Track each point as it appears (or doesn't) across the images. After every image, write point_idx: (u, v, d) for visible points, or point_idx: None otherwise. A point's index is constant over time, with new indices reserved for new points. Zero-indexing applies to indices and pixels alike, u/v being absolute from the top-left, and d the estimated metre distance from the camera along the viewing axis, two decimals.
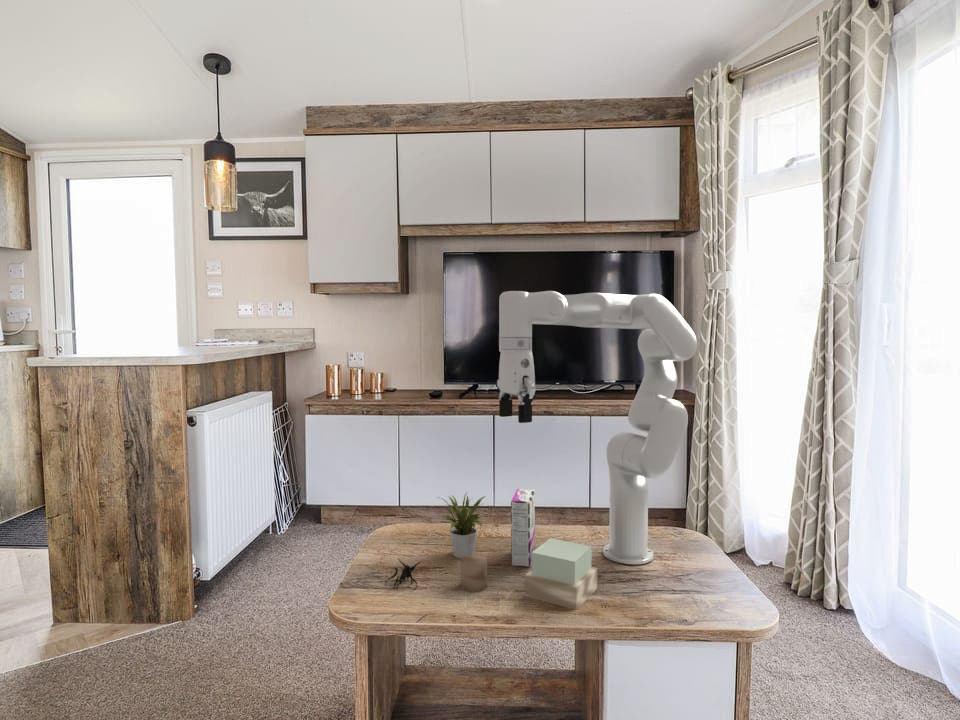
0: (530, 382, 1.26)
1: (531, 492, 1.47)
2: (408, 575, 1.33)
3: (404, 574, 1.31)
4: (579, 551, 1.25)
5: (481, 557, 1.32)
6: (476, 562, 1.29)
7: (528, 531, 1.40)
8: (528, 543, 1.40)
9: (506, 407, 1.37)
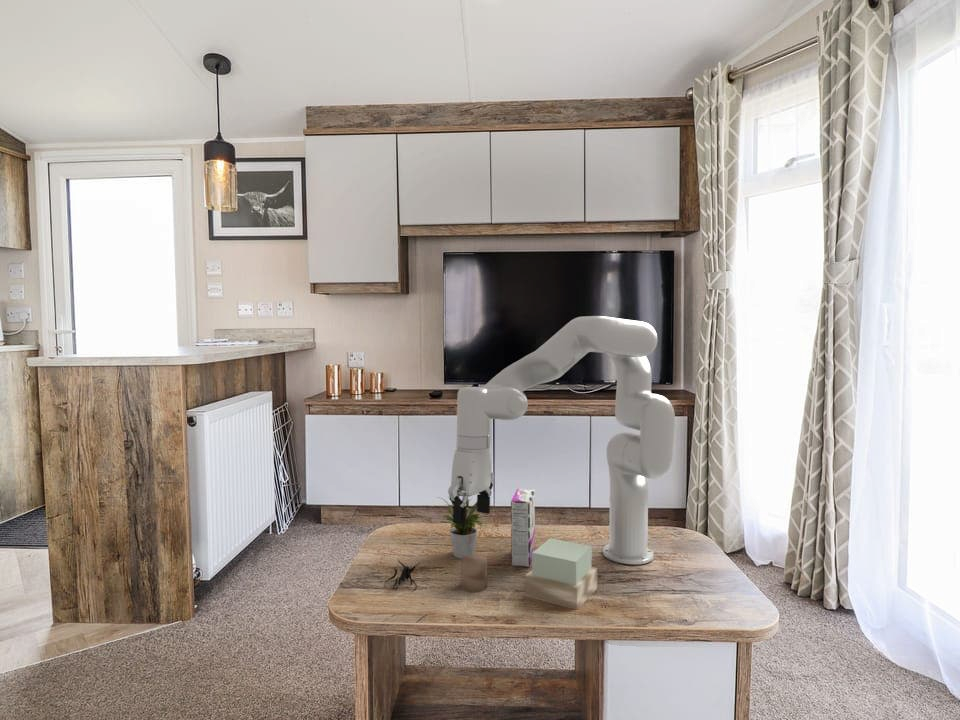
0: None
1: (531, 492, 1.47)
2: (407, 576, 1.32)
3: (403, 575, 1.30)
4: (580, 551, 1.25)
5: (481, 557, 1.32)
6: (476, 562, 1.29)
7: (528, 531, 1.40)
8: (528, 543, 1.40)
9: None
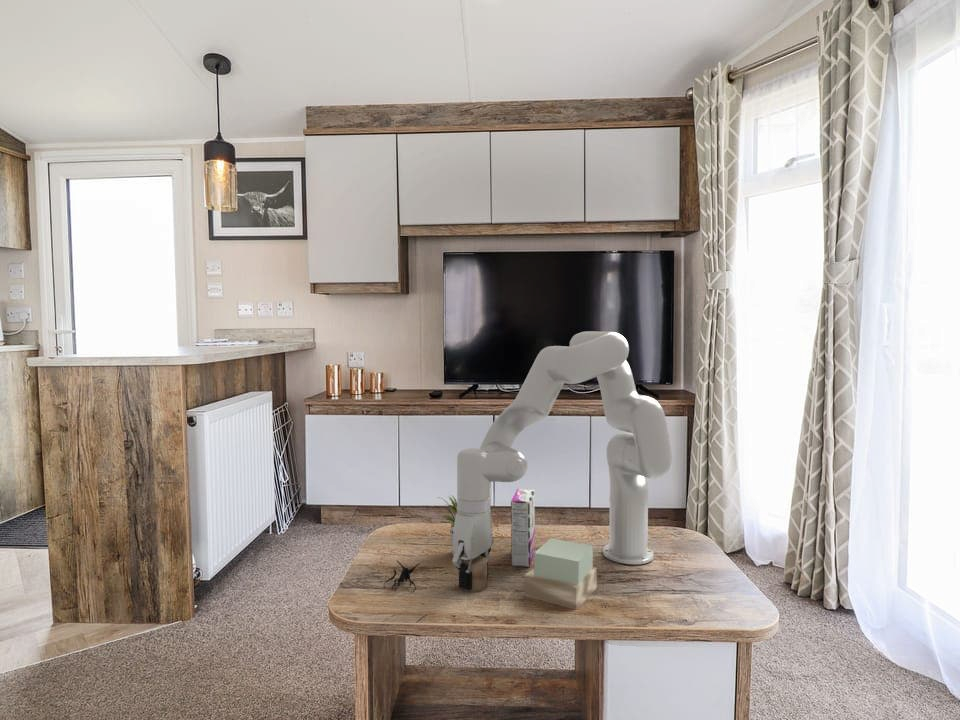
0: None
1: (531, 492, 1.47)
2: (407, 577, 1.32)
3: (402, 576, 1.30)
4: (581, 551, 1.26)
5: (481, 556, 1.32)
6: (476, 562, 1.29)
7: (528, 531, 1.40)
8: (528, 543, 1.40)
9: None
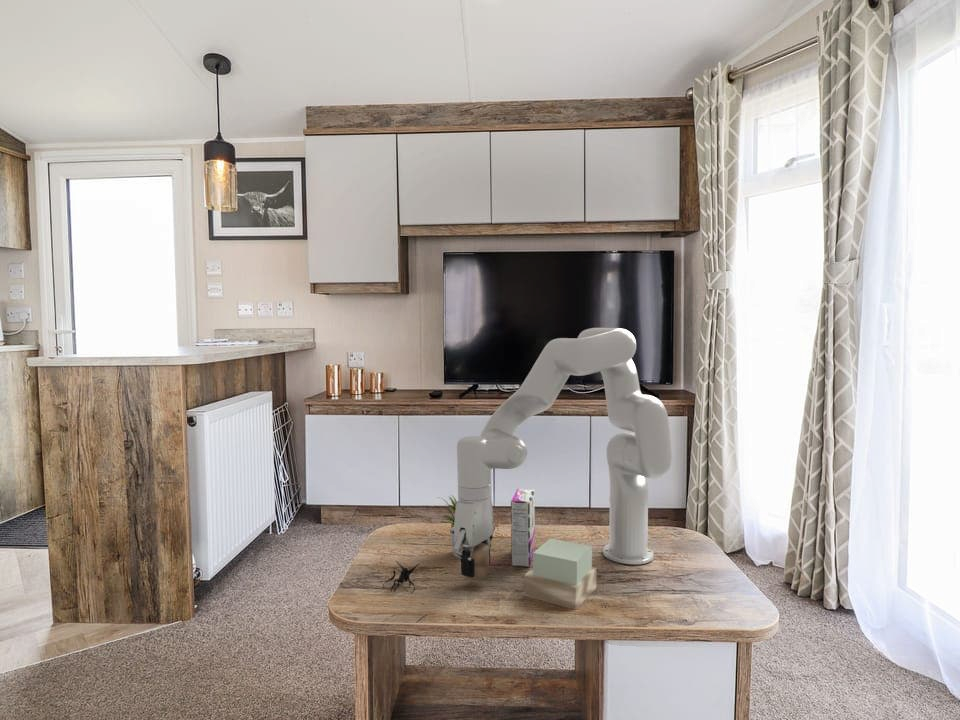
0: None
1: (531, 492, 1.47)
2: (406, 578, 1.31)
3: (402, 577, 1.29)
4: (580, 551, 1.26)
5: (483, 544, 1.32)
6: (478, 549, 1.29)
7: (528, 531, 1.40)
8: (528, 543, 1.40)
9: None
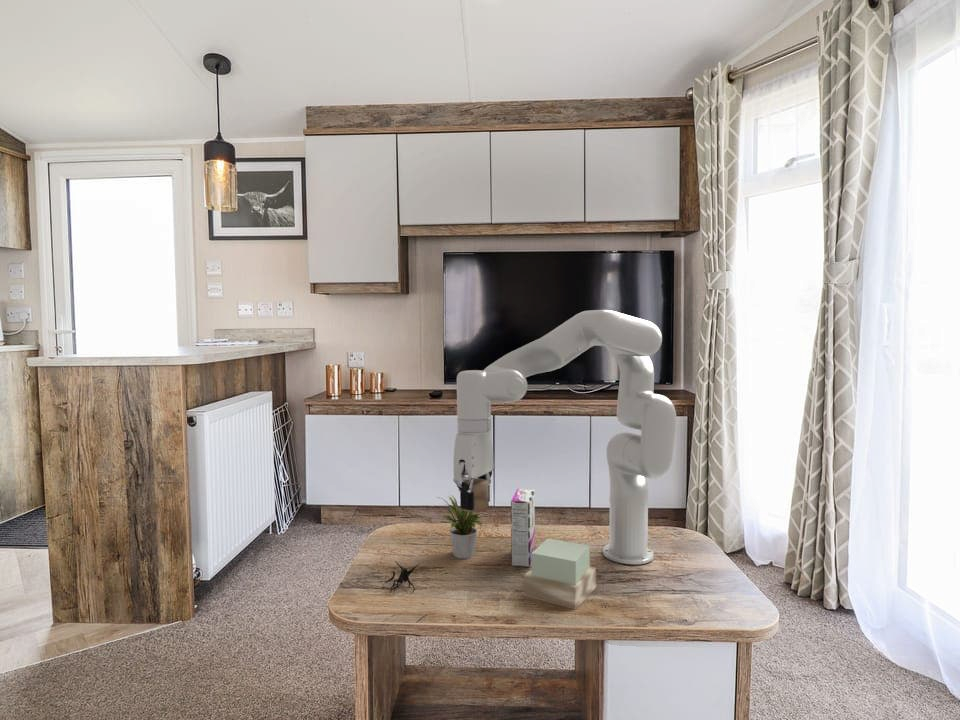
0: None
1: (531, 492, 1.47)
2: (406, 578, 1.31)
3: (401, 577, 1.29)
4: (578, 551, 1.26)
5: (483, 479, 1.31)
6: (477, 483, 1.28)
7: (528, 531, 1.40)
8: (528, 543, 1.40)
9: None
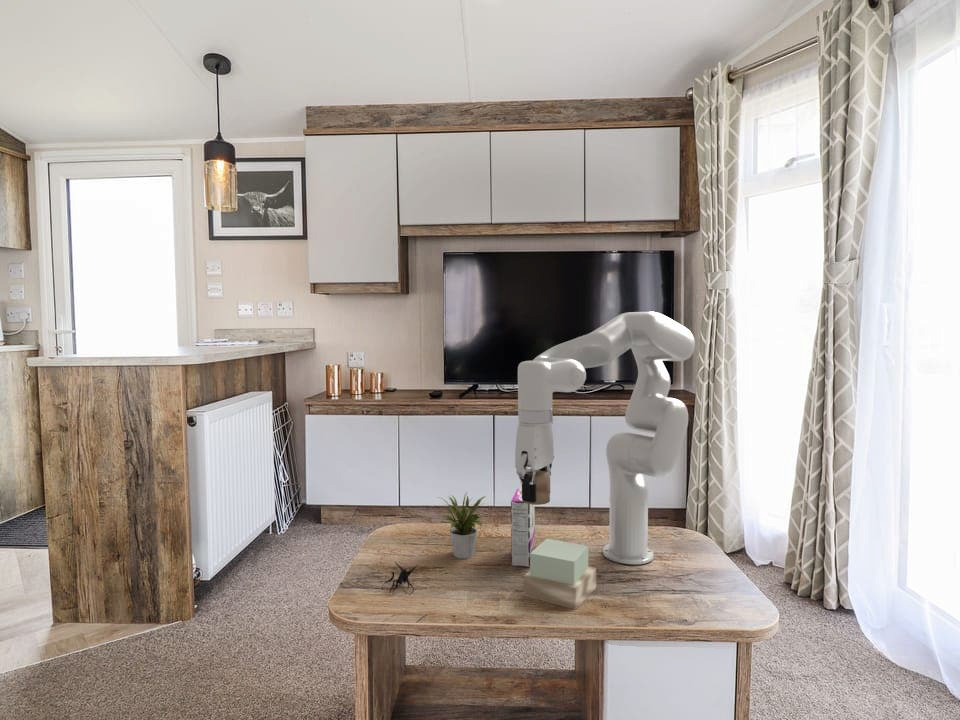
0: None
1: None
2: (405, 579, 1.31)
3: (401, 578, 1.29)
4: (577, 551, 1.26)
5: (543, 471, 1.29)
6: (539, 475, 1.26)
7: (528, 531, 1.40)
8: (528, 543, 1.40)
9: None
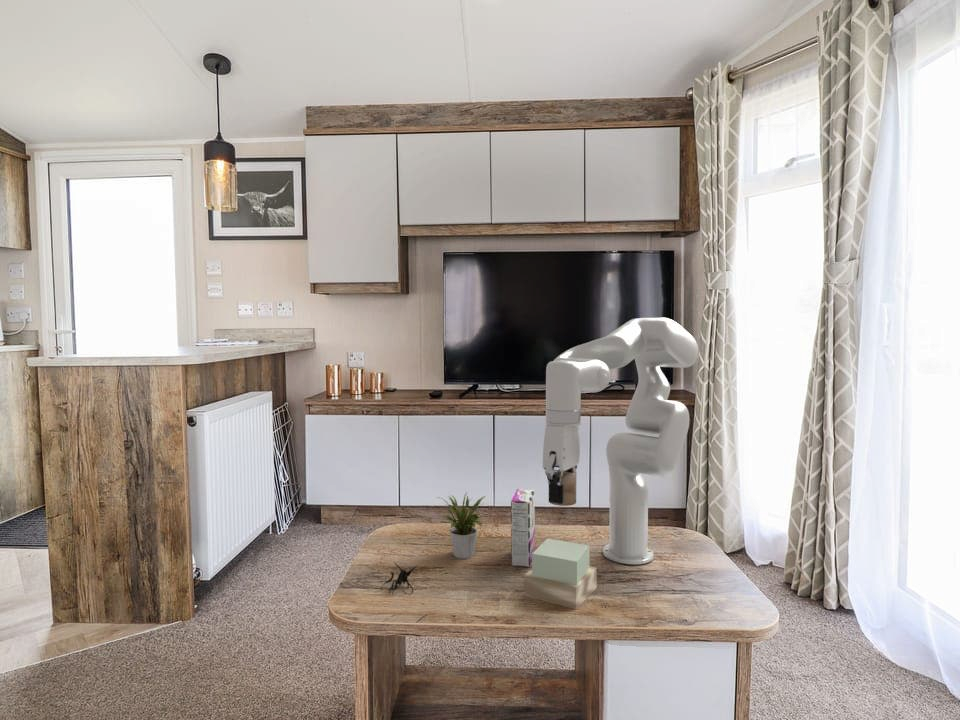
0: None
1: (531, 492, 1.47)
2: (404, 580, 1.30)
3: (400, 579, 1.28)
4: (579, 551, 1.26)
5: (569, 472, 1.28)
6: (566, 476, 1.25)
7: (528, 531, 1.40)
8: (528, 543, 1.40)
9: None
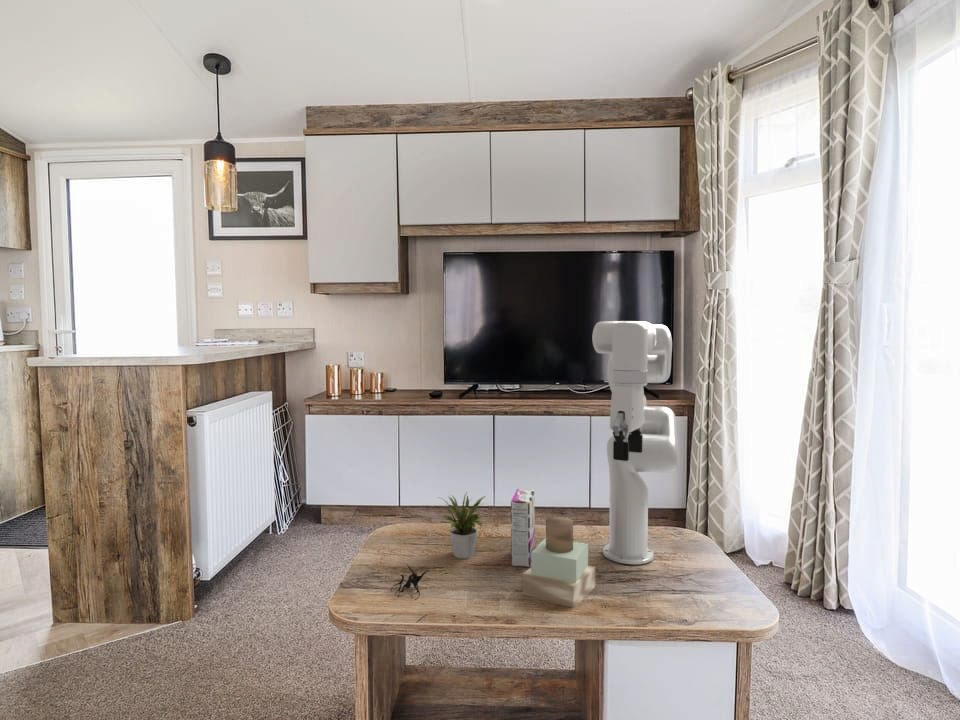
0: None
1: (531, 492, 1.47)
2: (415, 583, 1.28)
3: (409, 582, 1.27)
4: (578, 549, 1.27)
5: (566, 518, 1.29)
6: (562, 523, 1.26)
7: (528, 531, 1.40)
8: (528, 543, 1.40)
9: None
